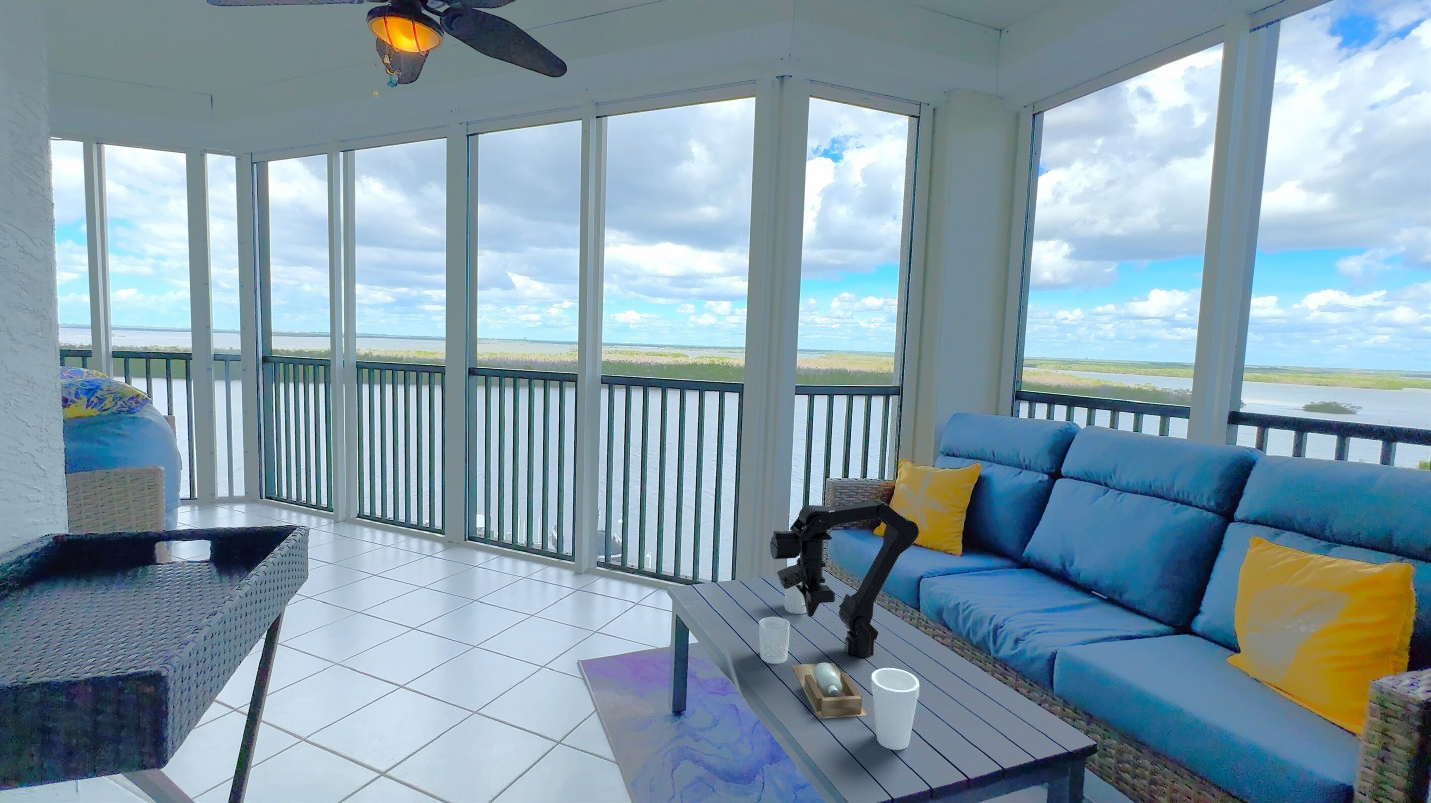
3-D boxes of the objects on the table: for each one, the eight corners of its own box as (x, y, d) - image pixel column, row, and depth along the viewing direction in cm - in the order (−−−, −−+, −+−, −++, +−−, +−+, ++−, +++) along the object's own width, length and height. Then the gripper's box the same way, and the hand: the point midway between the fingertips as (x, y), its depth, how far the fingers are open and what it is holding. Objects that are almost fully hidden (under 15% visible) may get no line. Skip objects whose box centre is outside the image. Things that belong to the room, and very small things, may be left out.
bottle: (833, 661, 149) (846, 684, 139) (833, 681, 150) (846, 706, 139) (812, 663, 149) (824, 686, 139) (813, 683, 149) (824, 708, 139)
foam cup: (881, 721, 136) (883, 663, 135) (923, 738, 130) (926, 678, 129) (861, 741, 129) (863, 680, 128) (904, 761, 123) (907, 697, 122)
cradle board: (833, 666, 159) (834, 649, 159) (867, 719, 137) (868, 699, 136) (791, 668, 158) (791, 651, 157) (818, 722, 135) (818, 702, 135)
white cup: (753, 663, 160) (754, 625, 159) (765, 650, 167) (766, 614, 166) (782, 671, 157) (783, 632, 156) (793, 658, 163) (794, 620, 163)
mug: (780, 605, 197) (780, 573, 196) (802, 602, 200) (803, 570, 199) (798, 621, 185) (799, 587, 184) (822, 617, 188) (823, 583, 187)
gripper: (771, 546, 167) (769, 603, 169) (791, 570, 149) (790, 634, 150) (811, 544, 169) (809, 600, 171) (836, 568, 151) (834, 631, 152)
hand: (810, 616), depth 161 cm, fingers closed
